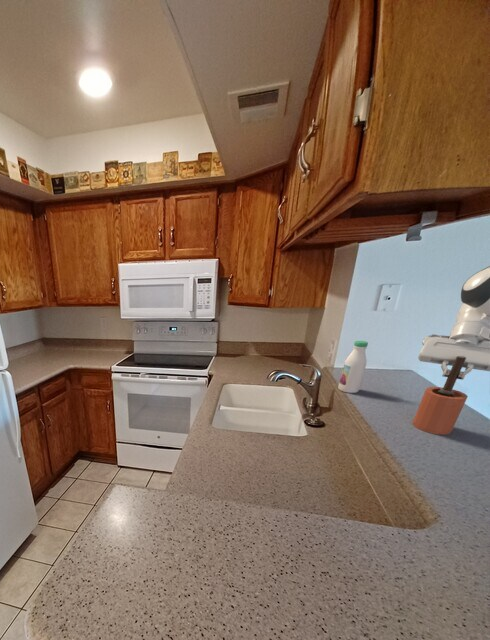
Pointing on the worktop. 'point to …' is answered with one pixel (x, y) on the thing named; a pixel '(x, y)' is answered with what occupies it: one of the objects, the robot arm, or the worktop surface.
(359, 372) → the milk bottle
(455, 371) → the brush
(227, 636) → the worktop surface
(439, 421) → the jar
